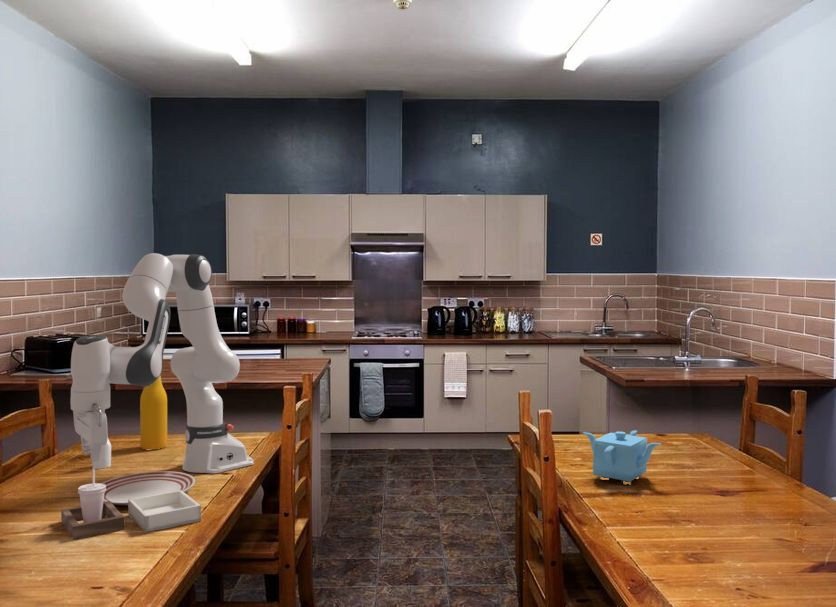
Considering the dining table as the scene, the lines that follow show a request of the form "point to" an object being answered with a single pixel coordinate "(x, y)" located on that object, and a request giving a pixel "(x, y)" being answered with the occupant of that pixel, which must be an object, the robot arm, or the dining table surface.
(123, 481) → the dinner plate
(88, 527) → the socket block
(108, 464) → the white tapered bottle
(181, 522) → the tray
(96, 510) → the smoothie
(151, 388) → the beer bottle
